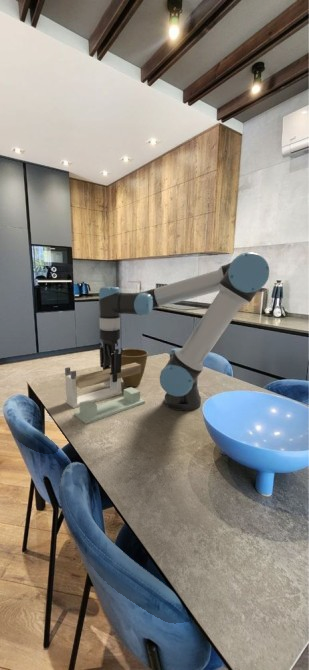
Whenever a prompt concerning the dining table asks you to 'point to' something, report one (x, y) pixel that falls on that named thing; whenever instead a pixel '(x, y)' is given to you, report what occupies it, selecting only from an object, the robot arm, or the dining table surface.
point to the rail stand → (94, 396)
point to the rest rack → (108, 406)
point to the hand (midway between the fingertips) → (110, 387)
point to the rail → (106, 375)
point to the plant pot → (134, 357)
